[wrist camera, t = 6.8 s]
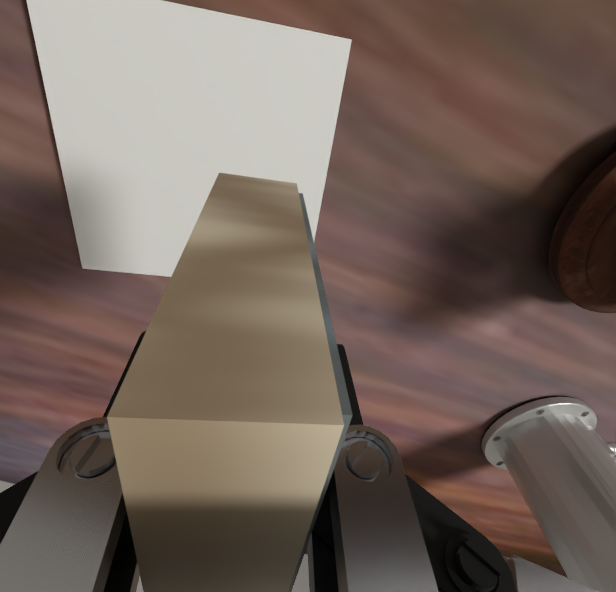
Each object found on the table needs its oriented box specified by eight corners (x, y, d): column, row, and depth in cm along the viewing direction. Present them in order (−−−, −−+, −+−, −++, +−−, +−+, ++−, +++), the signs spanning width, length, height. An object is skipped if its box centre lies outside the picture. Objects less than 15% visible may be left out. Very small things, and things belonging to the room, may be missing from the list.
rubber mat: (350, 39, 20) (351, 39, 19) (304, 285, 28) (305, 289, 28) (26, -27, 17) (20, -29, 17) (85, 264, 26) (82, 268, 25)
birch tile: (302, 184, 11) (361, 425, 4) (277, 349, 15) (283, 635, 8) (218, 172, 11) (106, 417, 4) (214, 345, 15) (154, 642, 7)
